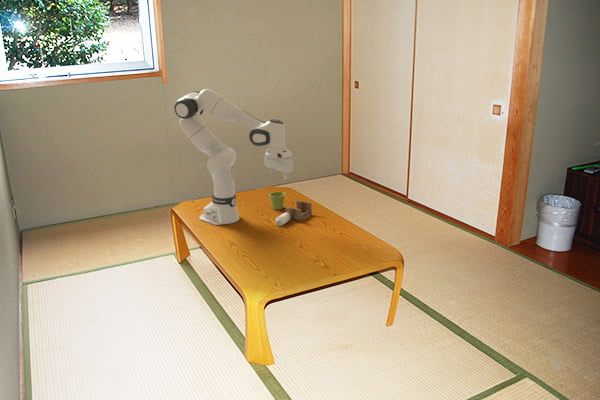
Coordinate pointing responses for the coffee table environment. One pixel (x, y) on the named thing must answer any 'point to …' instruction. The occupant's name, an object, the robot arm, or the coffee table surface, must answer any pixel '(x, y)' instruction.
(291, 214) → the walnut cradle
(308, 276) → the coffee table surface
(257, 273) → the coffee table surface
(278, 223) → the paper roll
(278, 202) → the plant pot
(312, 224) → the coffee table surface
